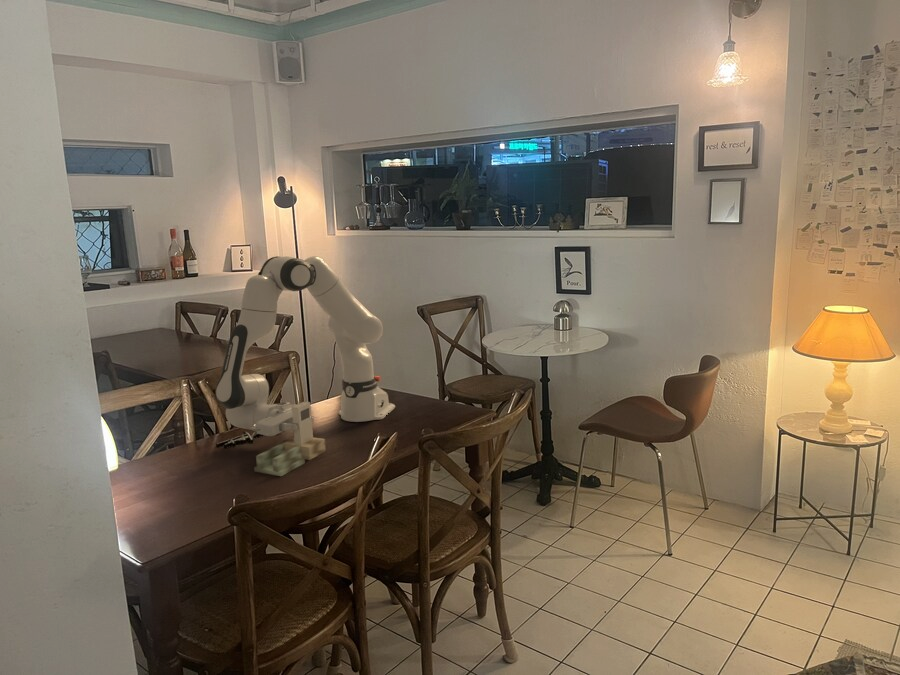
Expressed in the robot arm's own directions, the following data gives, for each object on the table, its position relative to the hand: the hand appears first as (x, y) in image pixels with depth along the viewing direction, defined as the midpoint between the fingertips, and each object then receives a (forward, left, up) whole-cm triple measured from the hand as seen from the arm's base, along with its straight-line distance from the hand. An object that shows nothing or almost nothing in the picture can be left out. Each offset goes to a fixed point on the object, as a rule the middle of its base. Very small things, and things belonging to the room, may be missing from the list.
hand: (304, 423), depth 212 cm
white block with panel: (0, -1, -6) cm, 6 cm away
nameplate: (-7, -27, -11) cm, 30 cm away
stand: (0, -1, -10) cm, 10 cm away
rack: (+12, -1, -10) cm, 16 cm away
